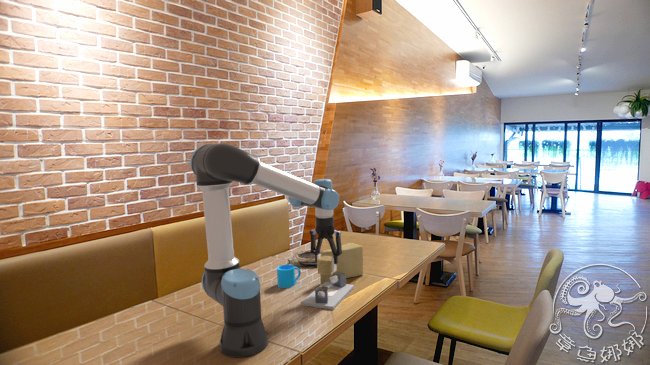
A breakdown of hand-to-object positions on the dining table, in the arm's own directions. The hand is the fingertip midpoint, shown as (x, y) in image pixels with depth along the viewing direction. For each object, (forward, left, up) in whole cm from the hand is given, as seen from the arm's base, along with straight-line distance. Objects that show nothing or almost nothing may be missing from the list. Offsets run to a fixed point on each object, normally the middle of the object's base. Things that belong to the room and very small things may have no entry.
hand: (326, 270), depth 158 cm
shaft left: (-8, -1, -9) cm, 12 cm away
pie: (+40, +27, -11) cm, 50 cm away
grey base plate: (-1, -1, -11) cm, 11 cm away
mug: (+7, +22, -11) cm, 26 cm away
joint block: (0, 0, -1) cm, 1 cm away
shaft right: (+8, -1, -9) cm, 12 cm away
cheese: (+21, +3, -11) cm, 24 cm away
